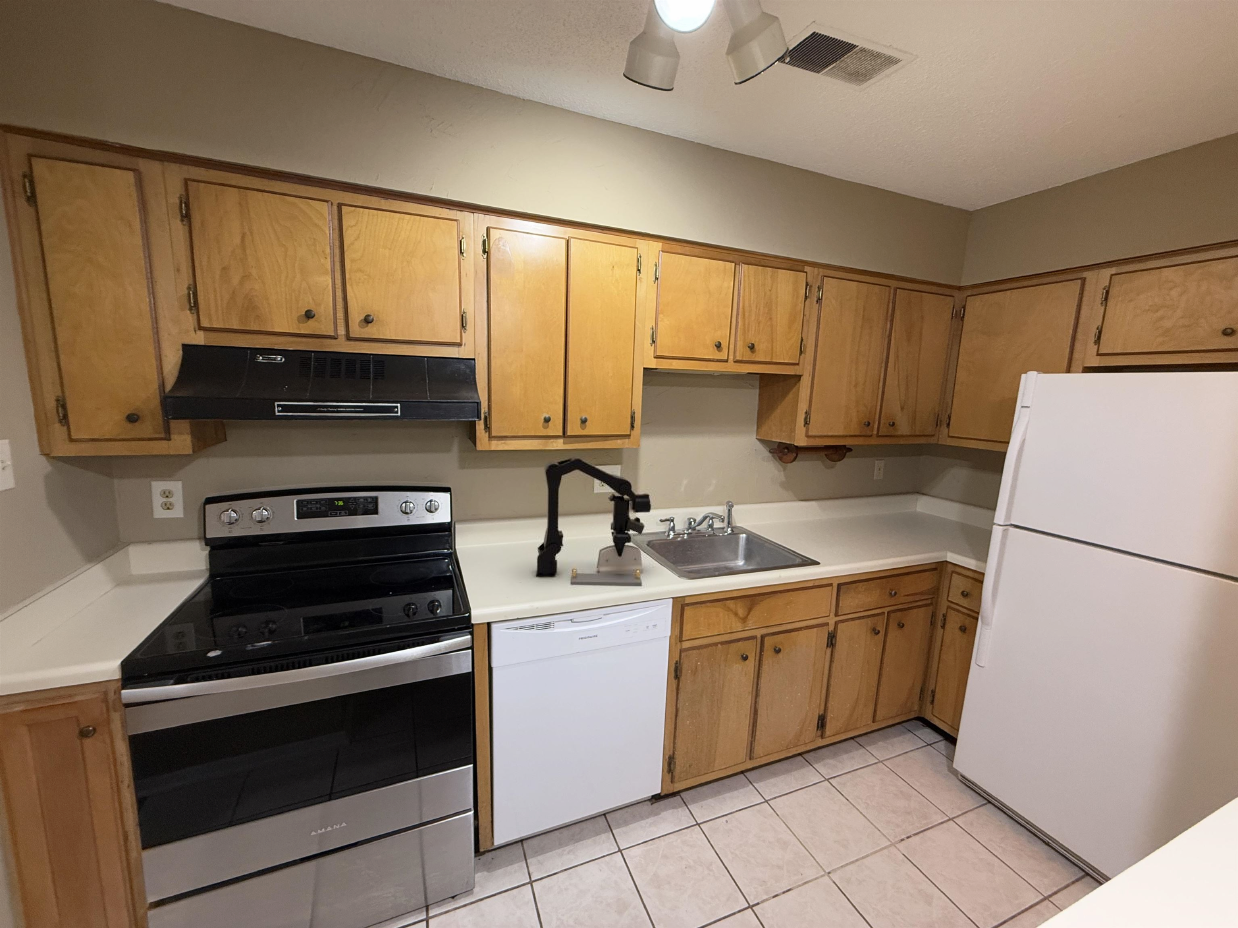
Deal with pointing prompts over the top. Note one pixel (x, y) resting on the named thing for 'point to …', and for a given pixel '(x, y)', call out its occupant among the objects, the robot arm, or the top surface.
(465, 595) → the top surface
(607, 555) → the curved beige panel
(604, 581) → the plate
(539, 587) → the top surface
